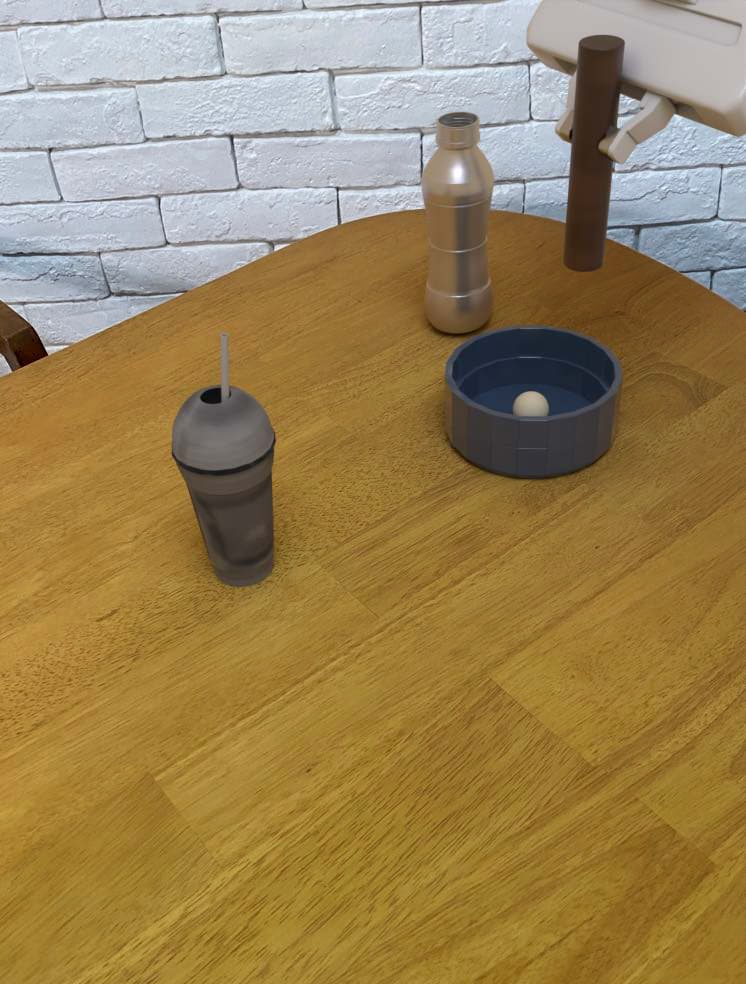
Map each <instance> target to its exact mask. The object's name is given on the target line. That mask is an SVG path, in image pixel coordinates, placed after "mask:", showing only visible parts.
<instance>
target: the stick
mask: <svg viewBox="0 0 746 984" xmlns="http://www.w3.org/2000/svg"><path fill="white" fill-rule="evenodd" d="M624 48H625V41H624V40H623V39H622V38H620V37H617V36H612V35H593V36H588V37H585V38H583V39H581V40H580V41H579V44H578V58H577V73H576V87H575V101H574V115H573V129H572V143H570V144H571V146H570V158H569V159H570V160H569V174H568V186H567V188H568V189H567V202H566V216H565V217H566V218H565V228H564V229H565V231H564V245H563V257H562V263H563V266H565V268H567V269H569V270H571V271H574V272H579V273H580V272H581V273H588V272H589V273H590V272H595V271H596V270H599V269H601V268H602V267H603V266H604V262H605V253H606V245H607V244H606V243H607V234H608V233H607V232H608V223H609V214H610V213H609V212H610V204H611V203H610V202H611V191H612V184H613V183H612V181H613V173H614V172H613V171H614V162H613V161H611V160H609V159H607V158H605V157H604V156H603V154H601V153H600V152H599V150H598V146H599V143H600V141H601V140H602V139H603V138H605V134H606V132H607V131H608V130H609V128H610V127H611V126H614V127H617V128H618V120H619V109H620V101H621V100H620V99H621V94H620V89H621V79H622V69H623V58H624Z"/></svg>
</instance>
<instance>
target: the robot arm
mask: <svg viewBox="0 0 746 984" xmlns="http://www.w3.org/2000/svg"><path fill="white" fill-rule="evenodd" d="M593 35H612V36H617V37H620V38H622V39H623V40H624V41H625V48H624V58H623V69H622V79H621V89H620V95H622V96H624V97H627V98H630V99H633V100H635V101H638V102H639V103H637V105H638V108H639V109H640V111H639V112H638V113H637V114H635V115H634V116H633V117H631V118H630V119H629V120H628V121H626V122H625V123H624V124H622V125H621V126H620V127H618V126H617V127H614V126H611V127H610V128H609V130H608V131H607V132H606V134H605V138H603V139H602V140H601V141H600V143H599V146H598V150H599V152H600V153H601V154H603V156H604V157H605V158H607V159H609V160H611V161H613V163H615V164H618V165H621V166H622V165H624V164H625V163H626V162H627V161H628V160H629V158H630V157H631V155H632V154H633V152H634V151H635V149H636V147H637V146H638V145H641V144H643V143H644V142H646V141H647V140H648V139H650V138H652V137H653V136H655V135H656V134H658V133H660V132H662V131H663V130H664V129H665V128H667V126H668V125H669V123H670V121H671V120H672V118H673V117H674V116H675V115H676V116H679V117H682V118H684V119H687V120H689V121H692V122H695V123H697V124H701V125H704V126H706V127H709V128H712V129H714V130H717V131H720V132H722V133H725V134H728V135H731V136H734V137H737V138H741V137H743V136H745V135H746V0H541V2H540V4H539V5H538V6H537V8H536V9H535V12H534V13H533V15H532V17H531V19H530V20H529V22H528V25H527V28H526V36H525V37H526V39H525V42H526V46H527V48H528V49H529V50H530V51H531V52H532V54H533V55H534V56H535V57H536V58H537V60H539V61H540V62H541V63H542V64H543V65H544V66H545V67H546V68H549V69H551V70H554V71H556V72H559V73H562V74H565V75H568V76H570V77H571V78H570V79H569V81H568V89H567V97H566V105H565V108H566V109H565V110H564V112H563V113H562V115H561V116H560V118H559V120H558V122H557V123H556V124H555V127H554V133H555V135H557V136H558V137H559V138H560V139H561V140H562V141H563V142H566V143H568V144H571V143H572V129H573V115H574V101H575V87H576V73H577V58H578V44H579V41H580V40H581V39H583V38H585V37H588V36H593Z"/></svg>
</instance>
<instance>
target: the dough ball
mask: <svg viewBox="0 0 746 984" xmlns="http://www.w3.org/2000/svg"><path fill="white" fill-rule="evenodd" d="M548 413H549V405H548V402H547V400H546V399H545V397H544V396H543V395H541V394H540V393H538V392H533V391H529V392H525V393H522V394H521V395H519V396H518V397H517V399H516V400H515V402H514V404H513V415H518V416H548Z"/></svg>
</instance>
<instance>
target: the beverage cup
mask: <svg viewBox="0 0 746 984" xmlns="http://www.w3.org/2000/svg"><path fill="white" fill-rule="evenodd" d="M219 336H220V337H219V338H220V339H219V340H220V384H214V385H210V386H207V387H203V388H200V389H199V390H197V391H195V392H194V393H192V394H191V395H189V397H187V398H186V400H184V402H183V403H182V404H181V405H180V407H179V408H178V411H177V413H176V415H175V418H174V419H173V423H172V428H171V456H172V458H173V460H174V461H175V463H176V464H175V465H176V466H177V469H178V471H179V473H180V475H181V477H182V479H183V480H184V482H185V485H186V487H187V491H188V495H189V497H190V500H191V504H192V507H193V511H194V513H195V514H194V515H195V517H196V521H197V523H198V526H199V530H200V532H201V533H200V534H201V536H202V539H203V543H204V546H205V549H206V553H207V555H208V559H209V560H210V562H211V565H212V567H213V570H214V574H215V576H216V577H217V579H218V580H219V581H221V583H223V584H225V585H228V586H232V587H248V586H253V585H254V584H258V583H261V582H262V581H263V580H265V579H267V577H268V576H269V575H270V574H271V573H272V571H273V568H274V565H275V564H274V551H275V533H274V501H273V498H274V497H273V466H274V461H275V446H276V443H277V437H276V432H275V429H274V427H273V426H272V423H271V418H270V416H269V414H268V412H267V411H266V409H265V408H264V407H263V406H262V404H261V402H259V400H258V399H257V398H256V397H255V396H253V395H252V394H251V393H250V392H248V391H246V390H244V389H242V388H240V387H237V386H233V385H230V358H229V357H230V355H229V354H230V353H229V352H230V351H229V334H228V333H226V332H222V333H220V334H219Z"/></svg>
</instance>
